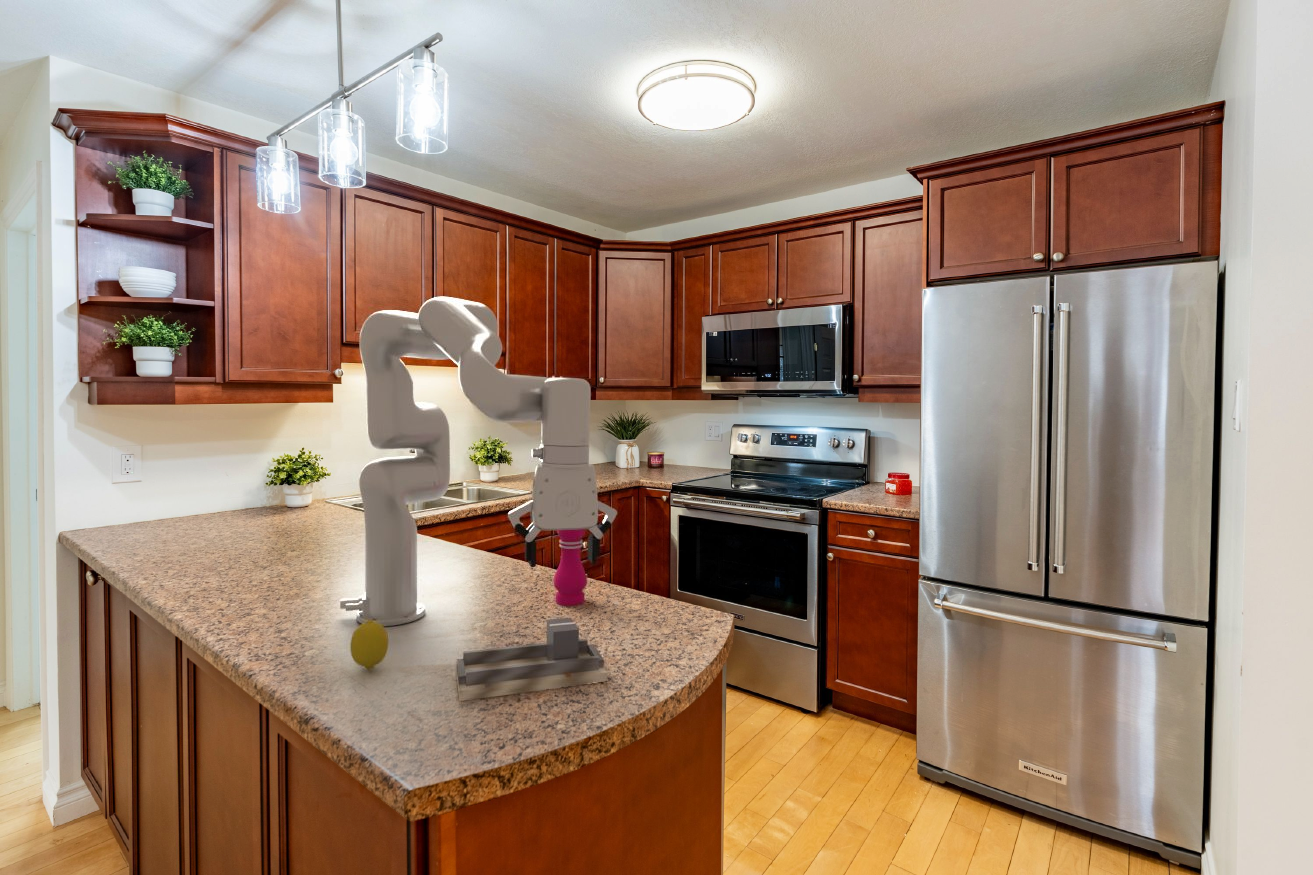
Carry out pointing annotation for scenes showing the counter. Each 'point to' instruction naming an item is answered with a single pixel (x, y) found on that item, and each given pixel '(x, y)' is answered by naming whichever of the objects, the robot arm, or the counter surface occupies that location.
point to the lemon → (369, 644)
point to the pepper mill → (570, 569)
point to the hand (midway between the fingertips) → (562, 563)
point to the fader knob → (562, 639)
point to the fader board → (524, 670)
